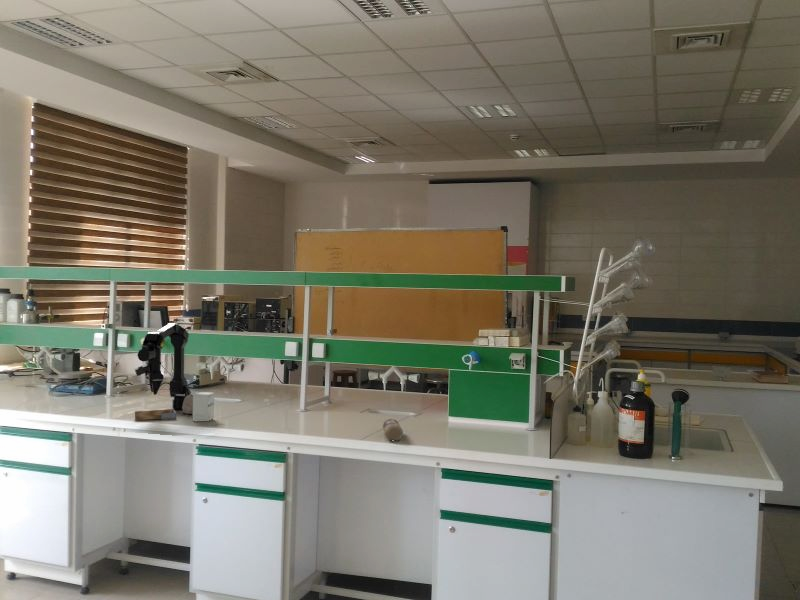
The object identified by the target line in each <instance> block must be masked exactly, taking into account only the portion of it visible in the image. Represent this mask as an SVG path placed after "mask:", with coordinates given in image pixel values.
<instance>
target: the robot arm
mask: <svg viewBox="0 0 800 600" xmlns="http://www.w3.org/2000/svg"><path fill="white" fill-rule="evenodd" d="M189 336H190V335H189V332H188V331H187V330H186V328H184V327H182V326H180V324H178V323H175V322H169V323H167V324H166V325H164V326H163V327H161V328H160V329H157V330H155V331H154V330H151V331H148V332H147V333H146V335H145V337H144V340H143V342H142V345H141V349H140V350H138V352H137V358H138V360H139V361H140V362H146V364H143V365H140V366H138V367H136V368H134V369H133V370H134V372H135V375H136V377H140V376H141V375H144V377H145V378H146V379H147V380H148V384H149V388H150V392H151V393H153V395H154V396H155V395H157V394H158V392H159V390H160V387H161V385H162V383H163V381H164V378H165V375H164V374H163V373H162V370H161V367H162V350H163V348H164V347H163V346H162V345H163V344H164V342H165V339H167V338H168V337H169V339H170V344H171V346H172V347H173V377H172V379H171V380H170V381H169V390H168V391H169V396H170V397H171V398H173V399H172V401H171V402H172V403H171V404H172V405H171V408H172V409H173V410H174V411H183V409H182V406H183V402H184V399H185V397H186V396H188V395H190V394H191V395H192V391H191V389H190V388H189V385H188V381H187V378H186V377H185V347H186V346H187V343H188V342H189Z"/></svg>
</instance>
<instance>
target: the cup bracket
mask: <svg viewBox="0 0 800 600" xmlns="http://www.w3.org/2000/svg"><path fill="white" fill-rule="evenodd" d="M163 419H168V420H177V412H176V410H174V409H173V410H172V413H161V419H160V420H162V421H164V420H163Z"/></svg>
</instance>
